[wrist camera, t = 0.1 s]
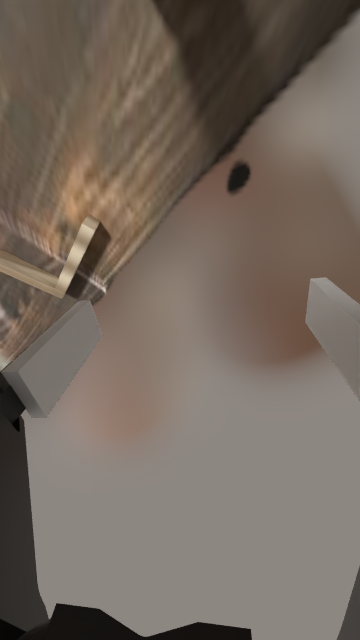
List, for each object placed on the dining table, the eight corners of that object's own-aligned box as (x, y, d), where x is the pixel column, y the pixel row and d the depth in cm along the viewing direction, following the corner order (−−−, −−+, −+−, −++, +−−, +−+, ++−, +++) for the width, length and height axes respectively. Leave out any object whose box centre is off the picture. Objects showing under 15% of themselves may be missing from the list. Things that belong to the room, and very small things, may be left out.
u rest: (-53, 126, 31) (-71, 132, 29) (100, 221, 40) (94, 230, 38) (-49, 233, 43) (-62, 243, 41) (67, 288, 52) (62, 298, 49)
